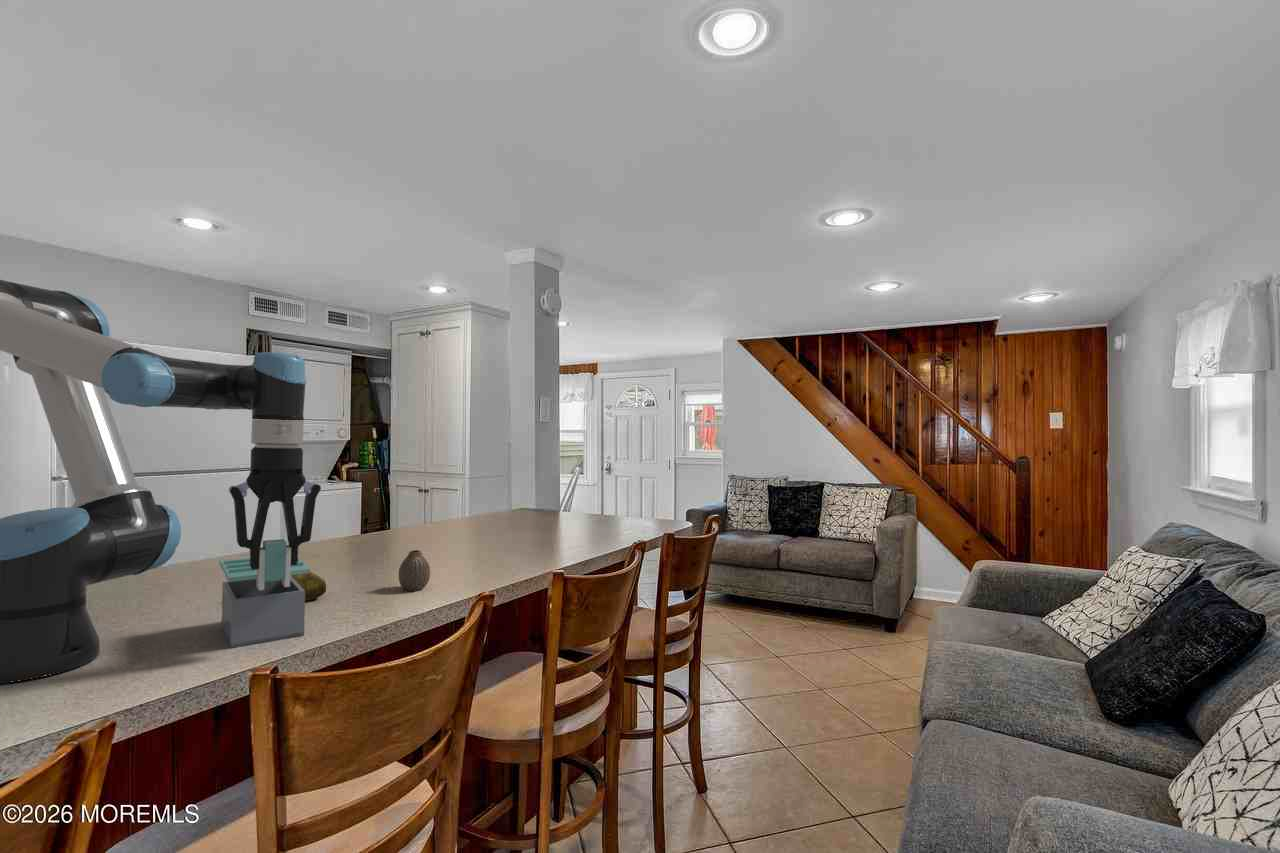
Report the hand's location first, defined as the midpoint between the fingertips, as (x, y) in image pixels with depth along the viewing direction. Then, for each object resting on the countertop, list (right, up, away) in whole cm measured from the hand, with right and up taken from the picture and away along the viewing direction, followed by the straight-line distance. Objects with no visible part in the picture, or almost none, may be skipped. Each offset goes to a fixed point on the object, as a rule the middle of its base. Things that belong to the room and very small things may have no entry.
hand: (273, 586), depth 104 cm
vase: (+9, -11, +40) cm, 42 cm away
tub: (-8, -10, +10) cm, 16 cm away
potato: (-13, -11, +29) cm, 34 cm away
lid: (-5, +1, +7) cm, 8 cm away
